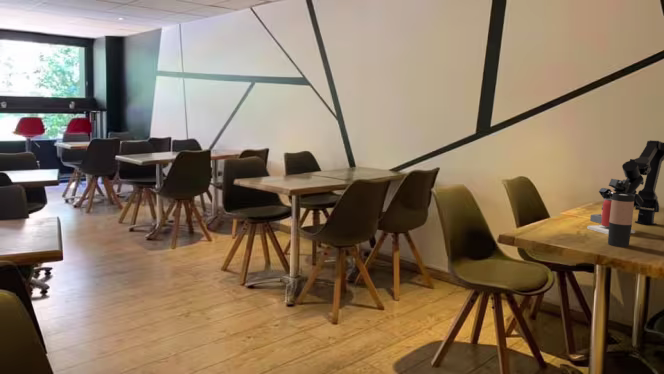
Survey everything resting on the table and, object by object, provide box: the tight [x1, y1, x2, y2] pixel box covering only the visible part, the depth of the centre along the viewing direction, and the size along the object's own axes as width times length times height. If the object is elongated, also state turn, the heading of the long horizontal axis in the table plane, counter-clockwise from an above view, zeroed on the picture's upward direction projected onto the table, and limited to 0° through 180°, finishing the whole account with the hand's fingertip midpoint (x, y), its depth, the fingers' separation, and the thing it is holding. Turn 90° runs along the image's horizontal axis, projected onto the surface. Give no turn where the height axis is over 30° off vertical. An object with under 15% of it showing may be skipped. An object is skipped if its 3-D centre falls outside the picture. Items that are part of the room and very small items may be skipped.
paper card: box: [587, 224, 636, 235], centre depth 221 cm, size 14×12×1 cm
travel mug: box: [607, 192, 635, 248], centre depth 195 cm, size 8×8×20 cm
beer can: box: [600, 198, 612, 227], centre depth 220 cm, size 7×7×12 cm
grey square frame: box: [589, 213, 602, 224], centre depth 239 cm, size 9×9×3 cm
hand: (608, 211), depth 219 cm, fingers closed on beer can, 6 cm apart
